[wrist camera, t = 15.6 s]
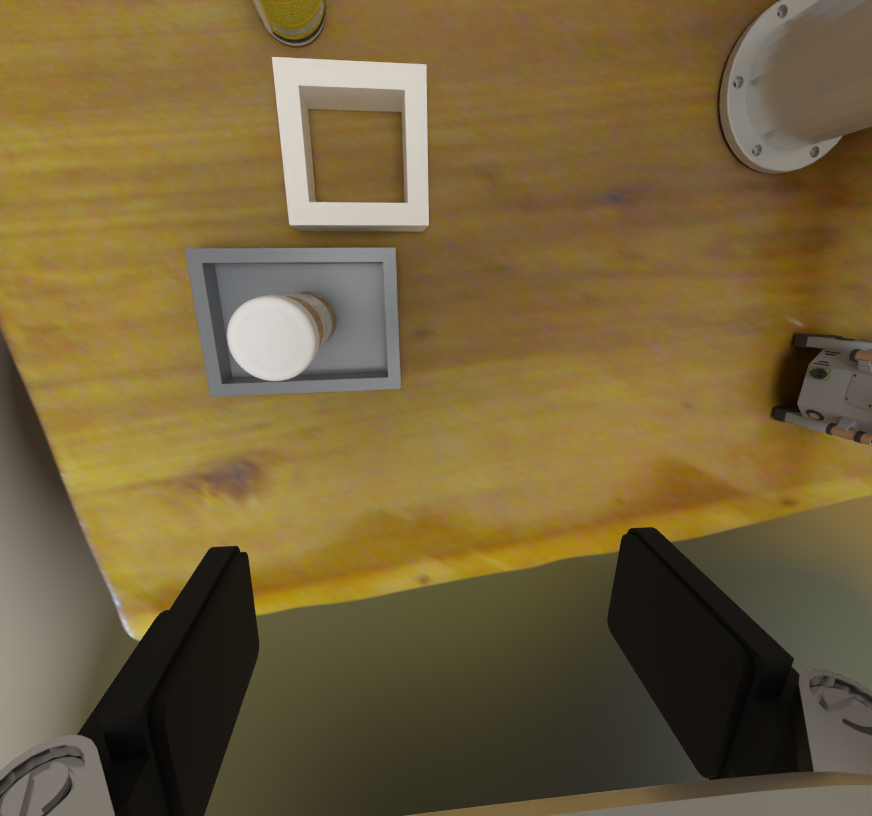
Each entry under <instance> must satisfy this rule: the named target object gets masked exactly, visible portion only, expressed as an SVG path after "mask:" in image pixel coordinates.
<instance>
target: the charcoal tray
mask: <svg viewBox="0 0 872 816" xmlns="http://www.w3.org/2000/svg"><path fill="white" fill-rule="evenodd" d="M185 253H186V259H187V265H188V271H189V276H190V282H191V288H192V294H193V300H194V305H195V311H196V317H197V323H198V328H199V334H200V340H201V346H202V352H203V357H204V363H205V369H206V375H207V380H208V386H209V392H210V397H223V396H246V395H269V394H292V393H316V392H339V391H362V390H385V389H401V380H400V353H399V327H398V300H397V274H396V248H185ZM300 292H312V293H316V294H319V295H321V296H322V297H324V298H325V299H326V300H327V301H328V302H329V303H330V304H331V306H332V307H333V309H334V311H335V315H336V326H335V331H334V333H333V334H332V336H331V338H330V339H329V340H328V341H327V342H326V343H325V344H324V345H323V346H322V347H321V349H320V350H319V351H318V352H317V354H316V356H315V358H314V359H313V361H312V362H311V363H310V365H309V366H308V367H307V368H306V369H305V370H304V371H303V372H301V373H300V374H298V375H297V376H295V377H293V378H290V379H287V380H283V381H267V380H263V379H259V378H257V377H255V376H253V375H251V374H249V373H248V372H246V371H245V370H244V369H243V368H241V367H240V365H239V364H238V363H237V362H236V361H235V359H234V358H233V356H232V354H231V352H230V349H229V346H228V341H227V329H228V324H229V321H230V319H231V317H232V315H233V314H234V312H235V311H236V310H237V309H238V308H239V307H240V306H241V305H242V304H243V303H245V302H247V301H249V300H251V299H254V298H257V297H260V296H265V295H287V294H295V293H300Z"/></svg>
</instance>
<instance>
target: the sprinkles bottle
mask: <svg viewBox="0 0 872 816" xmlns="http://www.w3.org/2000/svg"><path fill="white" fill-rule="evenodd" d="M335 326H336V315H335V311H334V309H333V307H332V306H331V304H330V303H329V302H328V301H327V300H326V299H325V298H324V297H322V296H321V295H319V294H316V293H312V292H300V293H295V294H287V295H265V296H260V297H257V298H254V299H251V300H249V301H247V302H245V303H243V304H242V305H241V306H240V307H239V308H238V309H237V310H236V311H235V312H234V314H233V315H232V317H231V319H230V321H229V324H228V329H227V341H228V346H229V349H230V352H231V354H232V356H233V358H234V359H235V361H236V362H237V363H238V364H239V365H240V367H241V368H243V369H244V370H245V371H246V372H248V373H249V374H251V375H253V376H255V377H257V378H259V379H263V380H267V381H283V380H287V379H290V378H293V377H295V376H297V375H298V374H300V373H301V372H303V371H304V370H305V369H306V368H307V367H308V366H309V365H310V363H311V362H312V361H313V359H314V358H315V356H316V354H317V352H318V351H319V350H320V349H321V347H322V346H323V345H324V344H325V343H326V342H327V341H328V340H329V339H330V338H331V336H332V334H333V333H334V331H335Z"/></svg>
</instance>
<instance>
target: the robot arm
mask: <svg viewBox="0 0 872 816" xmlns="http://www.w3.org/2000/svg"><path fill="white" fill-rule="evenodd" d="M719 108H720V117H721V125H722V128H723V131H724V135H725V138H726V140H727V142H728V144H729V146H730V148H731V150H732V151H733V152H734V154H735V155H736V156H737V157H738V159H739V160H740V161H742V162H743V163H744V164H746V165H747V166H748V167H750V168H752V169H754V170H757V171H759V172H762V173H769V174H778V173H786V172H790V171H793V170H797V169H801V168H803V167H805V166H808V165H810V164H812V163H814V162H815V161H817V160H818V159H820V158H821V157H823V156H824V155H825V154H827V153H828V152H829V151H830V150H831V149H832V148H833V147H834V146H835V145H836V144H837V143H838V141H839V140H840V139H841V138H842V136H843V135H846V134H849V133H852V132H856V131H859V130H862V129H865V128H868V127H871V126H872V0H780V1H778V2H776V3H775V4H773V5H772V6H771V7H769V8H768V9H767V10H765V11H764V12H763V13H761V14H760V15H759V16H758V17H757V18H756V19H755V20H754V21H753V22H752V23H751V24H750V25H749V26H748V27H747V28H746V30H745V31H744V33H743V34H742V35H741V37H740V38H739V40H738V41H737V43H736V45H735V47H734V49H733V51H732V53H731V55H730V57H729V59H728V62H727V65H726V68H725V71H724V74H723V79H722V84H721V89H720V107H719ZM607 620H608V626H609V629H610V632H611V634H612V635H613V637H614V639H615V640H616V642H617V643H618V645H619V647H620V648H621V650H622V651H623V653H624V654H625V656H626V658H627V659H628V661H629V663H630V664H631V666H632V667H633V669H634V671H635V672H636V674H637V675H638V677H639V678H640V680H641V682H642V683H643V685H644V687H645V688H646V690H647V691H648V693H649V695H650V696H651V698H652V699H653V701H654V703H655V704H656V706H657V707H658V709H659V711H660V712H661V714H662V715H663V717H664V718H665V720H666V722H667V723H668V725H669V726H670V728H671V730H672V731H673V733H674V734H675V736H676V738H677V739H678V741H679V742H680V744H681V746H682V747H683V749H684V750H685V752H686V754H687V755H688V757H689V758H690V760H691V762H692V763H693V765H694V766H695V768H696V769H697V771H698V772H699V773H700V774H701V775H702V776H703V777H705V778H709V780H706V781H697V782H689V783H680V784H671V785H662V786H653V787H644V788H635V789H626V790H617V791H608V792H599V793H591V794H582V795H574V796H566V797H557V798H548V799H540V800H532V801H523V802H514V803H506V804H498V805H489V806H481V807H472V808H464V809H456V810H447V811H439V812H432V813H423V814H415V815H407V816H872V690H870V689H868V688H867V687H865V686H863V685H862V684H860V683H859V682H857V681H854V680H852V679H850V678H848V677H846V676H843V675H841V674H838V673H835V672H832V671H828V670H822V669H810V670H805V671H804V672H803V673H802V674H801V675H799V673H798V672H797V671H796V670H795V669H793V668H792V667H791V666H792V663H793V660H794V658H793V657H791V655H789V653H787V652H786V651H785V650H784V649H783V648H782V647H781V646H780V645H779V644H778V643H777V642H776V641H775V640H773V638H772V637H770V636H769V635H768V634H767V633H766V632H765V631H764V630H763V629H762V628H761V627H760V626H759V625H758V624H756V622H754V621H753V620H752V619H751V618H750V617H749V616H748V615H747V614H746V613H745V612H744V611H743V610H742V609H741V608H740V607H738V605H736V604H735V603H734V602H733V601H732V600H731V599H730V598H729V597H728V596H727V595H726V594H725V593H724V592H722V590H720V589H719V588H718V587H717V586H716V585H715V584H714V583H713V582H712V581H711V580H710V579H709V578H708V577H707V576H706V575H705V574H703V573H702V572H701V571H700V570H699V569H698V568H697V567H696V566H695V565H694V564H693V563H692V562H691V561H690V560H689V559H688V558H687V557H685V556H684V555H683V554H682V553H681V552H680V551H679V550H678V549H677V548H676V547H675V546H674V545H673V544H672V543H671V542H670V541H668V540H667V539H666V538H665V537H664V536H663V535H662V534H661V533H660V532H659V531H658V530H657V529H655V528H652V527H647V528H631V529H629V531H628V532H627V534H625V535H623V537H622V539H621V544H620V550H619V556H618V561H617V567H616V573H615V578H614V583H613V589H612V595H611V601H610V606H609V611H608V618H607ZM258 652H259V637H258V630H257V622H256V614H255V606H254V598H253V591H252V583H251V575H250V567H249V559H248V554H247V553H246V552H240V549H239V547H237V546H227V547H212V548H210V549H209V550H208V552H207V553H206V555H205V556H204V558H203V559H202V561H201V562H200V564H199V565H198V567H197V568H196V570H195V571H194V573H193V575H192V576H191V578H190V579H189V581H188V582H187V584H186V585H185V587H184V588H183V590H182V591H181V593H180V595H179V596H178V598H177V599H176V601H175V602H174V604H173V605H172V607H171V608H170V610H165V611H163V612H162V613H160V614H159V615H158V616H157V618H156V619H155V620H154V622H153V623H152V625H151V626H150V628H149V629H148V631H147V632H146V634H145V635H144V637H143V638H142V639H141V641H140V642H139V644H138V645H137V647H136V649H135V650H134V652H133V653H132V654H131V656H130V657H129V659H128V660H127V662H126V663H125V665H124V666H123V668H122V669H121V671H120V672H119V674H118V675H117V677H116V678H115V679H114V681H113V683H112V684H111V685H110V687H109V688H108V690H107V691H106V693H105V694H104V696H103V697H102V699H101V700H100V702H99V703H98V705H97V706H96V708H95V709H94V711H93V712H92V714H91V715H90V716H89V718H88V719H87V721H86V723H85V724H84V725H83V727H82V728H81V730H80V731H79V733H78V734H77V735H74V736H73V735H66V736H63V737H59V738H56V739H52V740H49V741H46V742H44V743H42V744H40V745H38V746H36V747H34V748H31V749H30V750H28V751H27V752H25V753H23V754H22V755H20V756H19V757H17V758H16V759H14V760H13V761H11V762H10V763H9V764H7V765H6V766H5V767H4V768H3V769H2V770H1V771H0V816H204V814H205V811H206V808H207V805H208V802H209V799H210V796H211V793H212V791H213V788H214V785H215V782H216V779H217V776H218V773H219V770H220V767H221V764H222V761H223V758H224V755H225V752H226V749H227V746H228V743H229V740H230V737H231V734H232V731H233V728H234V726H235V723H236V720H237V717H238V714H239V711H240V708H241V705H242V702H243V699H244V696H245V693H246V690H247V687H248V684H249V682H250V679H251V676H252V673H253V670H254V667H255V664H256V661H257V657H258Z"/></svg>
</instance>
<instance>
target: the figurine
mask: <svg viewBox="0 0 872 816" xmlns="http://www.w3.org/2000/svg"><path fill="white" fill-rule="evenodd" d="M793 346H797V347H806V348H822V349H823V350H822V351H821V352H820V353H819V354H818V356H817V357H816V358H815V359H814V360H813V361H812V362H811V363H810V364H809V366H808V369H807V372H806V376H805V379H804V382H803V386H802V389H801V392H800V396H799V399H798V402H797V405H798V407H799V408H776V410H775V414H774V417H773V419H775V420H778V421H782V422H790V423H793V424H795V425H799V426H802V427H806V428H809V429H813V430H817V431H822V432H826V433H827V434H830V435H836V436H839V437H842V438H845V439H848V440H849V439H850V440H854V441H855V442H859V443H864V444H867V445H871V446H872V342H868V341H861V340H854V339H848V338H843V337H841V336H835V335H812V334H796V338H795V342H794V345H793Z"/></svg>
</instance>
